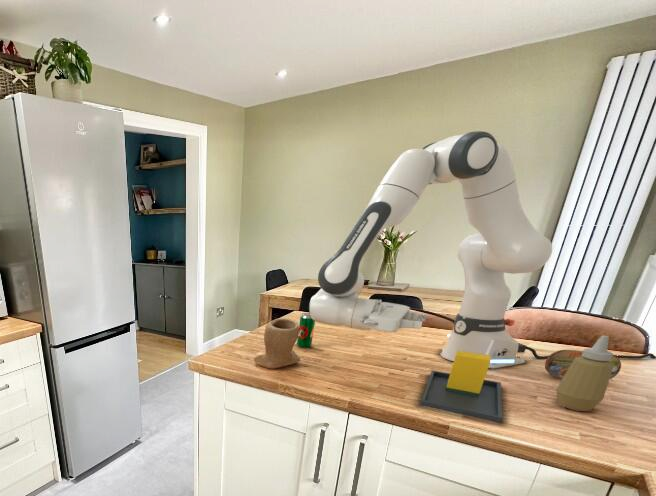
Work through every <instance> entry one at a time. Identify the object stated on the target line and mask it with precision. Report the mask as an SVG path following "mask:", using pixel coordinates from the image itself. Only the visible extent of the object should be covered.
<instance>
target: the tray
mask: <svg viewBox="0 0 656 496" xmlns="http://www.w3.org/2000/svg"><path fill="white" fill-rule="evenodd" d="M449 376H450V373H448V372H443V371H437V370H431V371H430V374H429V377H428V380H427V383H426V385H425V388H424V391H423V393H422V397H421V399H420V403H419V406H422V407H426V408H430V409H435V410H439V411H445V412H449V413H452V414H453V413H454V414H457V415H458V414H459V415H463V416H467V417H472V418H476V419H481V420H486V421H489V422H493V423H494V422H495V423H499V424H501V423H502V421H503V400H502V399H503V398H502V382H500V381H496V380H488V379H484V382H483V385H482V388H481V390H480V393H479V396H473V395H468V394H463V393H458V392H453V391H448V390H446V386H447V383H448V379H449Z"/></svg>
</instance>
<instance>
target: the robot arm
mask: <svg viewBox="0 0 656 496" xmlns="http://www.w3.org/2000/svg"><path fill="white" fill-rule="evenodd" d="M455 181H459V183H460V185H461V190H462V195H463V196H462V197H463V202H464V206H465V210H466V214H467V215H466V216H467V219H468V223H469V224H470V225H471V227H473V228H475V229H476V230H477V232H476V233H472V234H470V235H468V236H466V237H465V238H464V239H463V240H462V241H460V244H459V246H458V248H457V252H456V253H457V258H458V260H459V262H460V263H461V265H462V267H463V268H462V269H463V272H464V273H463V274H464V282H465V283H464V291H463V297H462V301H461V304H460V307H459V311H458V313H456V315H455V319H454V322H453V328H452V330H451V332H450V334H447V341H446V343H445V345H444V346H443V347H442V350H441V352H440V357H441V358H443V359H445V360H448V361H451V362H454V359H455V356H456V353H457V351H463V352H470V353H477V354H484V355H490V356H491V361H490V364H489V367H488V369H498V368H499V369H500V368H505V367H510V366H516V365H521V364H525V362H526V360H525V359H524V358H523V357H521V356H519V357H516V355H517V354H519V353H520V354H523V353H524V354H525V352H526V350H527V351H530V352H531V353H532V355H534V356H533V357H534V358H536V359H538V360H546V359H547V358H548V357H549V356H550V355H546V356H542V355H539V354H538V353H537V351H536V350H535V349H534V348H532V347H530V346H527V344H526V345H525V344H523V343H520V342H518V341H517V340H515V339H514V337H512V336H511V335H510V334H509V333H508V332H507V330H506V326H508V327H513V326H514V325H515V323H516V320H515V319H510V318H506V319H505V314H506V312H507V309H508V306H509V303H510V300H511V297H512V291H511V289H510V288H509V286H508V284H507V283H506V279H505V273H506V274H512V275H513V274H528V273H529V274H530V273H533V272H536V271H538V270H540V269H541V268H542V267H544V266H546V264H547V262H549V260H550V258H551V256H552V253H553V244H552V242H551V240H550V239H549V238H548V237H546V236H544V234H541V232H539V231H538V230H537V229H536V228H535V227H534V225H533V224H532V223H531V221H530V219H529V218H528V216H527V214H526V213H525V211H524V210H523V207H522V204H521V200H520V195H519V191H518V184H517V179H516V173H515V169H514V166H513V162H512V160H511V157H510V154H509V153H508V150H507V147H505V146H503V145H502V144H499V143H498V141H497V139H496V138H495V136H494V135H493V134H491V133H490V132H487V131H481V130H479V131H478V130H476V131H475V130H474V131H469V132H468V133H461V134H456V135H452V136H448V137H446V138H443V139H442V140H439V141H435V142H431V143H430V144H427V145H425V146H424V147H422V148H410V149H406V151H403V152H402V153H401V154H400V155H399V156H398V157H397V159H396V160H394V162H393V163H392V165H391V166H390V167H389V169H388V170H387V172H386V173H385V175H384V176H383V178H382V179H381V180H380V182H379V185H378V186H377V188H376V189H375V191H374V193H373V195H372V197H371V198H370V200H369V201H368V204H367V206H366V208H365V209H364V211H363V213H362V214H361V216H360V218H359V219H358V221H357V222H356V224H355V225H354V226H353V228H352V229H351V231H350V232H349V234H348V235H347V237H346V238H345V240H344V242H343V244H341V246H340V248H339V249H338V250H337V252H336V253H335V254H333V256H331V257H330V258H329V259H328V260H327V261H325V262H324V263H323V264H322V266H321V267H320V269H319V271H318V275H317V282H318V285H319V287H320V289H319V290H318V291H317V292H316V293H315V294H314V295H312V296H311V298H310V300H309V304H308V313H310V316H311V318H312V319H313V320H314V321H315V323H319V324H323V325H327V326H334V327H341V326H343V327H348V328H350V329H353V330H354V329H355V330H360V331H361V330H362V331H369V332H370V331H371V330H376V331H381V332H386V333H397V332H398V331H399V330H400V329H416V330H420V329H421V328H422V326H423V323H424V322H425V321H427V317H428V315H427V313H426V314H425V313H420V312H417V311H411V307H410V306H408V305H404V304H399V303H393V302H387V301H382V299H377V298H375V299H372V298H362V297H359V296H360V294H361V291H362V290H363V287H364V283H365V277H364V274H363V273H362V271H361V270H360V265H361V262H362V260H363V258H364V257H365V255H366V254H367V252H368V251H369V250H370V248H371V247H372V244H373V243H374V242H375V240H376V238H377V237H378V236H379V235H380V233H381V232H383V231H384V230H385V229H388V228H391V227H396V226H398V225H400V224H402V223H403V222H404V221H405V220H406V218H407V217H408V216H409V215H410V213H411V212H412V210H413V209H414V208H415V206H416V205H417V203H418V201H419V200H420V198H421V196H422V195H423V194H424V191H425V189H426V188H427V187H428V186H429V185H433V184H449V183H451V182H455ZM613 355H614V356H616V357H617V358H618V359H629V360H630V359H631V360H632V359H633V360H634V359H636V360H639V359H644V358H648V357H650V358H651V359H656V355H655V354H653V353H652V352H651V353H645V354H642V355H624V354H622V355H621V354H613ZM617 355H618V356H617ZM517 356H518V355H517ZM520 357H521V358H520ZM517 358H519V359H517Z"/></svg>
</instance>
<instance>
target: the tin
mask: <svg viewBox="0 0 656 496" xmlns="http://www.w3.org/2000/svg"><path fill="white" fill-rule="evenodd" d="M583 351H584V350H577V349H559V350H557V351H554V352H552V353H550V354H549V355H548V356H549V357H548V358H547V359H545V361H544V369H545V371H546V372H547V373H548V374H549V375H550V376H552V377H553V378H555V379H558V380H562V379H563V377H564V375H565V374H566V372H567V370H568V369H569V367H570V365H571V364H572V362H573V360H574V359H575V358H577V357H581V355H582V353H583ZM614 355H615V354H613V355H612V357H611V359H610V360H609V361H610V362H611V363H612V364H613V365H614V366H613V369H612V373H611V376H610V379H609V381H610V380H612V379H613V378H615V377H616V376H617V375H618V374H619V373H620V371H621V369H622V362H621V360H620V358H617V357H616V356H614Z"/></svg>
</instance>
